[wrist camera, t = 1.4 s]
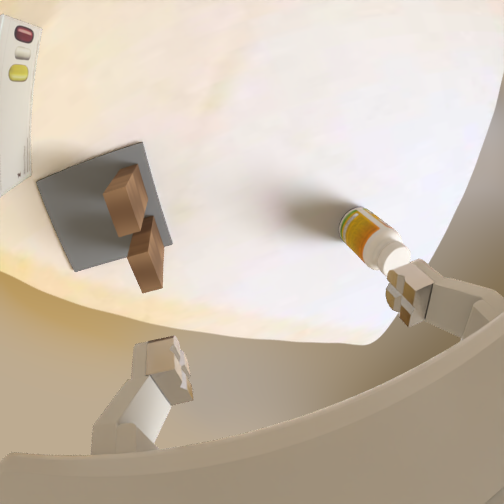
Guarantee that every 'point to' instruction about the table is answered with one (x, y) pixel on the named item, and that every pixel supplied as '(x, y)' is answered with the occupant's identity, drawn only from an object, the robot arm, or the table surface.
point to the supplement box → (16, 98)
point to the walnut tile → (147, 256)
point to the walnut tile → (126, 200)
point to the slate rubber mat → (96, 207)
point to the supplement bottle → (373, 240)
